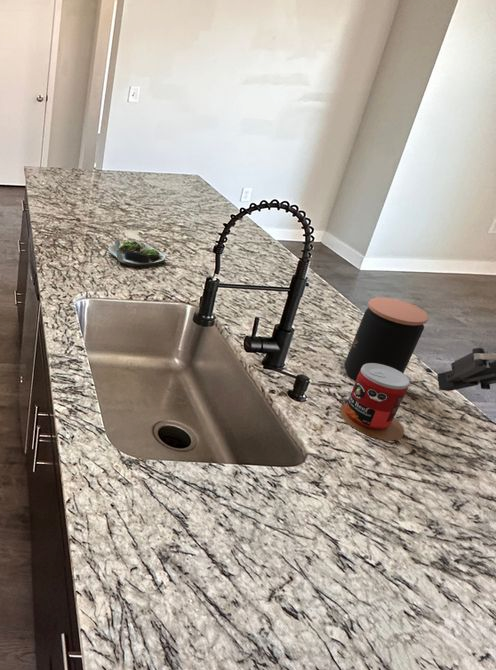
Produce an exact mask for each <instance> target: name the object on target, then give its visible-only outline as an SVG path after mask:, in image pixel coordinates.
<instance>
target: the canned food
mask: <svg viewBox="0 0 496 670" xmlns="http://www.w3.org/2000/svg"><path fill="white" fill-rule="evenodd" d="M410 383H411V381H410V379H409V377H408V376H407V375H406V374H404V373H402V372H400V371H398V370H396V369H394V368H392V367H389V366H386V365H382V364H376V363H367V364H364V365H363V366H362V368H361V370H360V372H359V374H358V377H357V379H356V381H355V382H354V384H353V387H352V389H351V392H350V394H349V397H348V399H347V402H346V403H345V404H346V414H347V416H348V417H349V418H350V419H351V420H353V421H354V422H356V423H357V424H359V425H361V426H364V427H366V428H370V429H375V430H383V429H386V428H387V427H389V426H390V425H391V423H392V421H393V418H395V416H396V414H397V412H398V410H399V408H400V406H401V403H402V401H403V400H404V398H405V395H406V393H407V392H408V389H409V386H410Z"/></svg>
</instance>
